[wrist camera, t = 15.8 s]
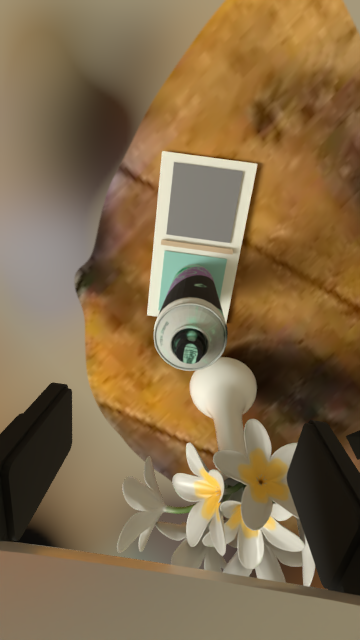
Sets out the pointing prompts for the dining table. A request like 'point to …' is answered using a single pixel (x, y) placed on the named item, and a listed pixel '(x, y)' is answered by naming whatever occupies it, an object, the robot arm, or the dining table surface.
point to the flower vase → (226, 489)
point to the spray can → (191, 321)
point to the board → (199, 222)
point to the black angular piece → (355, 443)
